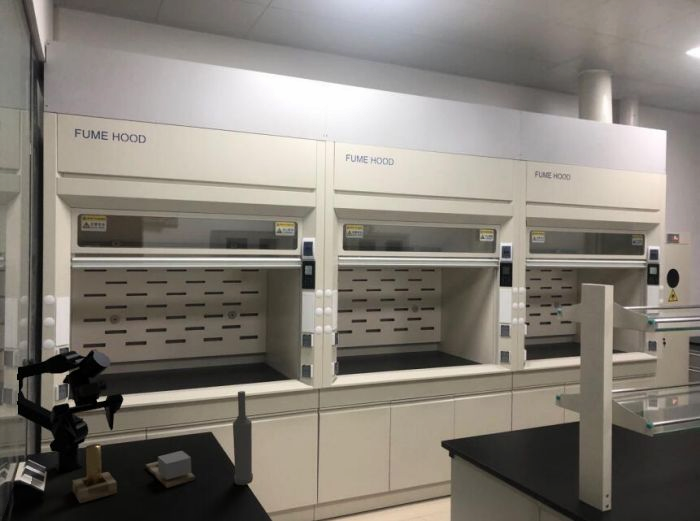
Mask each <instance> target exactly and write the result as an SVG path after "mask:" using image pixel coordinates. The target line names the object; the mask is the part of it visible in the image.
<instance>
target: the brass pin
mask: <svg viewBox="0 0 700 521" xmlns="http://www.w3.org/2000/svg"><path fill="white" fill-rule="evenodd" d="M85 454H86V455H85V460H86V461H85V462H86V466H85V467H86V477H87V487H88V486H92V485H96V484H100V483H102V473H103V472H102V444H100V443H92V444H91V443H90V444H89V445H86V446H85Z"/></svg>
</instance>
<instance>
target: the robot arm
mask: <svg viewBox="0 0 700 521" xmlns="http://www.w3.org/2000/svg"><path fill="white" fill-rule="evenodd" d="M110 365H111V359H110V357H109V356H108V355H106V354H105V353H104V352H102V351H99V350H98V349H97V348H95V349H91V350H90V351H89V352H88V354H87V355H86V356H84V355H81V354H79V353H77V351H75V350H69V351H66V352H61V353H59V354H55V355H52V356H51V357H49V358H47V359H45V360H43V361H40V362H35V363H34V362H33V363H30V364H26V365H22V366H19V365H18V366H19V367H18V366H17V367H18V374H17V380H19V393H18V401H17V405H18V414H17V415H18V416H21V417H23V418H24V419H27V420H29V421H30V422H31V423H34V424H36V425H37V426H40V427H42V428H44V429H46V430H48V431H50V432H51V435H52V437H53V440H52V441H51V443H50V444H49V448H50V450H51V452H53V453H55V452H56V453H57V464H55V465H54V468H55V469H56V471H57V472H58V473H62V472H63V473H64V472H68V471H72V470H76V469H80V468H83V464H82V463H81V461H80V448H79V447H80V446H79V445H81V444H83V443H85V441H86V437H87V436H88V434H89V426H88V423H87V422H86V421H85V420H84V418H83V417H79V416H77V415H76V414H79V413H84V412H85V413H86V412H89V411H90V412H91V411H95V410H98V409H99V410H100V409H104V411H105V418H106V421H107V424H108V427H109V429H110V431H112V430H113V429H114V422H115V419H114V418H115V414H116V413H117V412H118V411H120V409H121V406H122V405H123V402H124V396H123V395H122V394H121V393H119V392H117V393H113V394H107V395H106V398H105V400H100V401H98V400H99V399H100V394H102V392H105V391H106V390H107V389H108V385H107V381H106V378H102V379H98V380H97V381H96V382H92V380H91V379H96V378H98V376H100V375H101V374H102V373H103V372H104V371H105V370H106V369H107V368H109V367H110ZM68 372H70V373H68ZM64 373H68V374H66V375H65V377H64V378H63V380H62V384H64V385H69V389H70V391H71V395H72V396H71V399H72V400H71V401H73V402H74V405H73V406H70V404H69V403H68V402H64V403H61V404H55V405H53V407H52V409H51V410H49V409H48V408H45V407H44V406H41V405H40V404H38V403H35V402H34V401H31V400H29V399H28V398H26V397H25V394H24V391H22V389H23V387H24V379H26V378H30V377H34V376H38V375H43V374H52V375H54V374H55V375H56V374H57V375H59V374H64Z"/></svg>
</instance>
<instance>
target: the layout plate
mask: <svg viewBox="0 0 700 521" xmlns="http://www.w3.org/2000/svg"><path fill="white" fill-rule="evenodd" d="M145 468H146V469H147V471H149V472H150V473H151V474H152V476H153V477H155V478H156V479H157V480H158V481H159V482H160V483H161V484H162V485H163V486H164V487H165V488H166V489H167V488H172V487H175V486H178V485H181V484H185V483H189V482H192V481H195V480H196V476H195V475H194V474H193V473H192V472H191V473H189V474H186V475H182V476H179V477H175V478H171V479H168V480H166V479H165V478H164V477H163V476H162V475H161V474H160V473H159V472H158V461H155V462H151V463H146V464H145Z"/></svg>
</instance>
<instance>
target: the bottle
mask: <svg viewBox="0 0 700 521" xmlns="http://www.w3.org/2000/svg"><path fill="white" fill-rule="evenodd" d="M237 404H238V405H237V406H238V408H237V412H238V413H237V414H238V415H237V416H236V419H235V420H234V421H233V422H232V436H233V456H234V457H233V459H234V460H233V461H234V476H233V479H234V483H235V484H236V485H238V486H246V485H249V484H251V483H253V480H254V479H253V478H254V474H253V470H252V469H253V467H252V466H253V465H252V464H253V460H252V459H253V456H252V454H253V452H252V450H253V445H252V444H253V443H252V441H253V440H252V439H253V438H252V431H253V430H252V428H253V427H252V426H253V425H252V420H250V419H249V418H248V415H246V414H247V413H246V391H245V390H240V391H237Z"/></svg>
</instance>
